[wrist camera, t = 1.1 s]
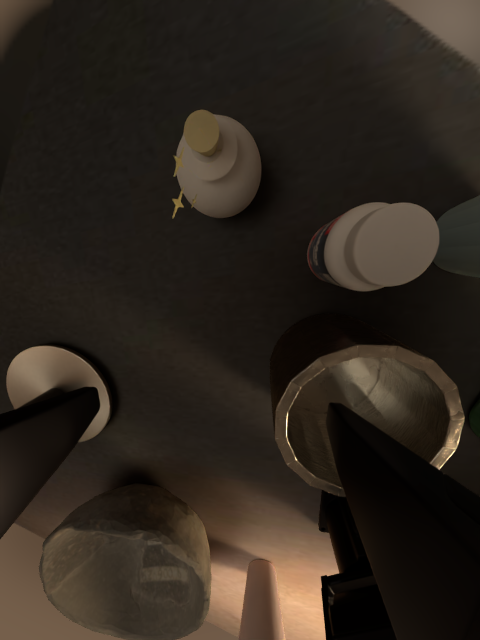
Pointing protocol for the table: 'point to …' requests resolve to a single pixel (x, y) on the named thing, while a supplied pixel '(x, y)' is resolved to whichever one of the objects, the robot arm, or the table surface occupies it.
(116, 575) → the bowl
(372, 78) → the table surface
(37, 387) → the lid
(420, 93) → the table surface
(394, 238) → the pill bottle
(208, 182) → the ornament
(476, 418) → the coffee jar
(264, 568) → the smoothie
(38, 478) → the robot arm
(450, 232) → the cup
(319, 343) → the tin
